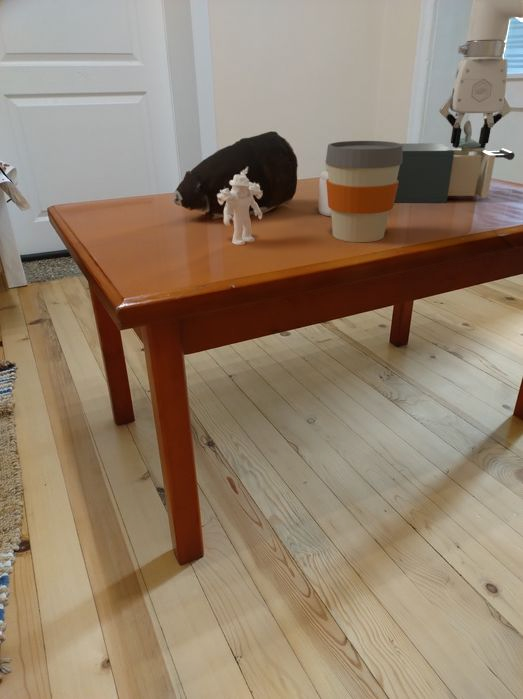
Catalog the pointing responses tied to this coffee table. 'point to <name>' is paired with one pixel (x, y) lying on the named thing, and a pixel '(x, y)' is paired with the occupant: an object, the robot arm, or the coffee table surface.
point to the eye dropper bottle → (323, 193)
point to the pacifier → (469, 141)
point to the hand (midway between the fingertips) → (468, 146)
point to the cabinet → (424, 173)
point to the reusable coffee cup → (362, 187)
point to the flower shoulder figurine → (240, 206)
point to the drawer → (473, 172)
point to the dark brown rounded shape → (218, 169)
